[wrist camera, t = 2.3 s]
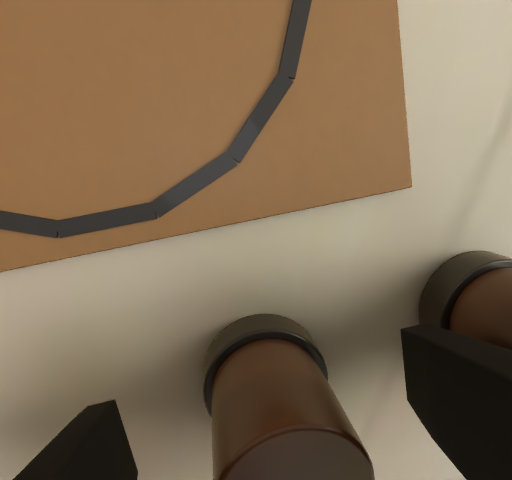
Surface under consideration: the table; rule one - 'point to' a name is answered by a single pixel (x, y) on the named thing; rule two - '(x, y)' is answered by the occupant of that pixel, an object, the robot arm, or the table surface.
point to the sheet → (190, 116)
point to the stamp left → (276, 407)
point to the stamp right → (472, 297)
